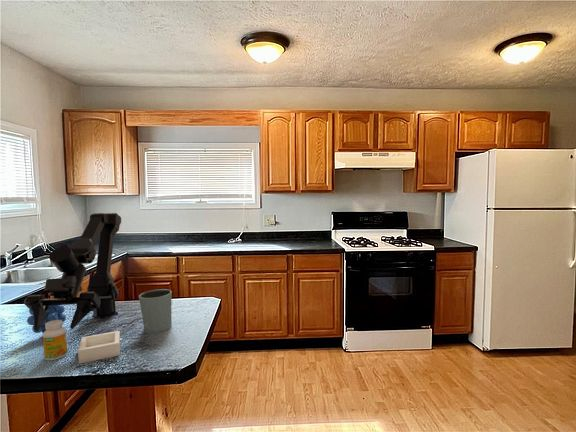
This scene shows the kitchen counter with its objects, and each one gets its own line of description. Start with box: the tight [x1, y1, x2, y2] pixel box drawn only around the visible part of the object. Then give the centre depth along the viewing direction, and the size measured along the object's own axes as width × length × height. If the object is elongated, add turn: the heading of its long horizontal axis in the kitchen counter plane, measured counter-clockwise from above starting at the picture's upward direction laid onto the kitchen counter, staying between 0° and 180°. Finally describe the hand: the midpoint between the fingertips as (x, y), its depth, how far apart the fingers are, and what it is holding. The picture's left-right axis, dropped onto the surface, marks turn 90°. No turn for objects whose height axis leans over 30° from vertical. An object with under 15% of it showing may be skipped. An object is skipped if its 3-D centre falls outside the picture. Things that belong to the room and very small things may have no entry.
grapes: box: [26, 305, 67, 334], centre depth 110 cm, size 12×7×12 cm, turn 156°
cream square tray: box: [77, 330, 121, 364], centre depth 97 cm, size 10×10×4 cm
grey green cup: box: [138, 288, 173, 335], centre depth 113 cm, size 10×10×12 cm
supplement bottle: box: [42, 320, 68, 361], centre depth 95 cm, size 5×5×10 cm
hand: (53, 329), depth 95 cm, fingers open, 9 cm apart
